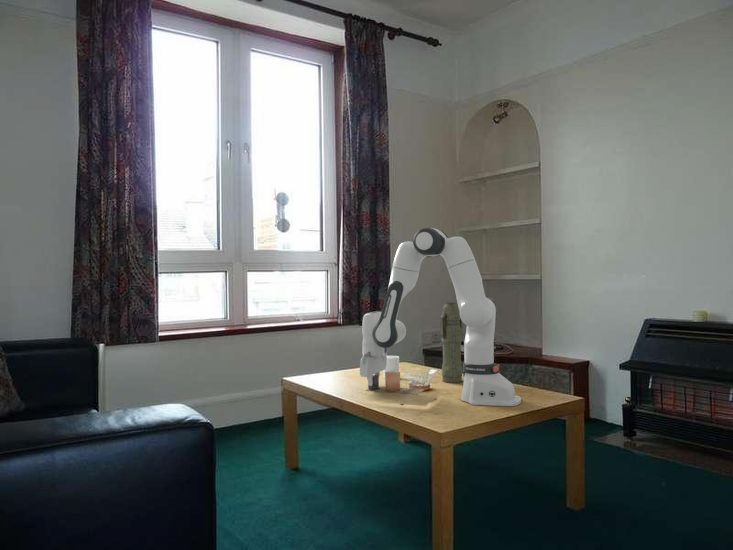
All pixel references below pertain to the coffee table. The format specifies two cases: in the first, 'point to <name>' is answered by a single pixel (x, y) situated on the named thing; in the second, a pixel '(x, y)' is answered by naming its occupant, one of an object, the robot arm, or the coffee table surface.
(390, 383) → the terracotta upright block
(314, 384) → the coffee table surface
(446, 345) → the thermos
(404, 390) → the walnut strip
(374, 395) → the coffee table surface
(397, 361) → the white cup
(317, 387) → the coffee table surface
